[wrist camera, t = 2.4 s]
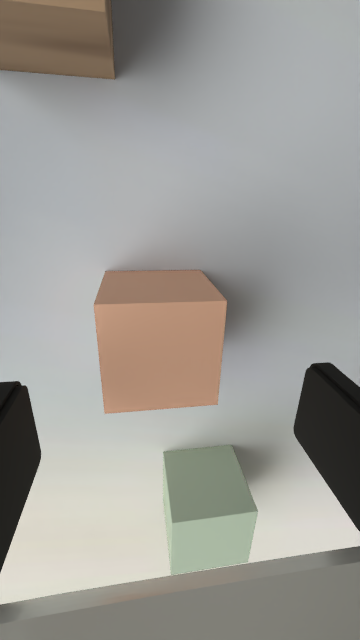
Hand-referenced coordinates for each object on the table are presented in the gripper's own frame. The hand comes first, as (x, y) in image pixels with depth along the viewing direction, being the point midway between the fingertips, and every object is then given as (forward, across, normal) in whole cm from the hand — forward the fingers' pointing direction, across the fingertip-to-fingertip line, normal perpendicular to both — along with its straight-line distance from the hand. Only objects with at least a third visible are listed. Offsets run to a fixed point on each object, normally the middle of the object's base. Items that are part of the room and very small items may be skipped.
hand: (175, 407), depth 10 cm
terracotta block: (+7, 0, 0) cm, 8 cm away
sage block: (+8, -3, +12) cm, 15 cm away
